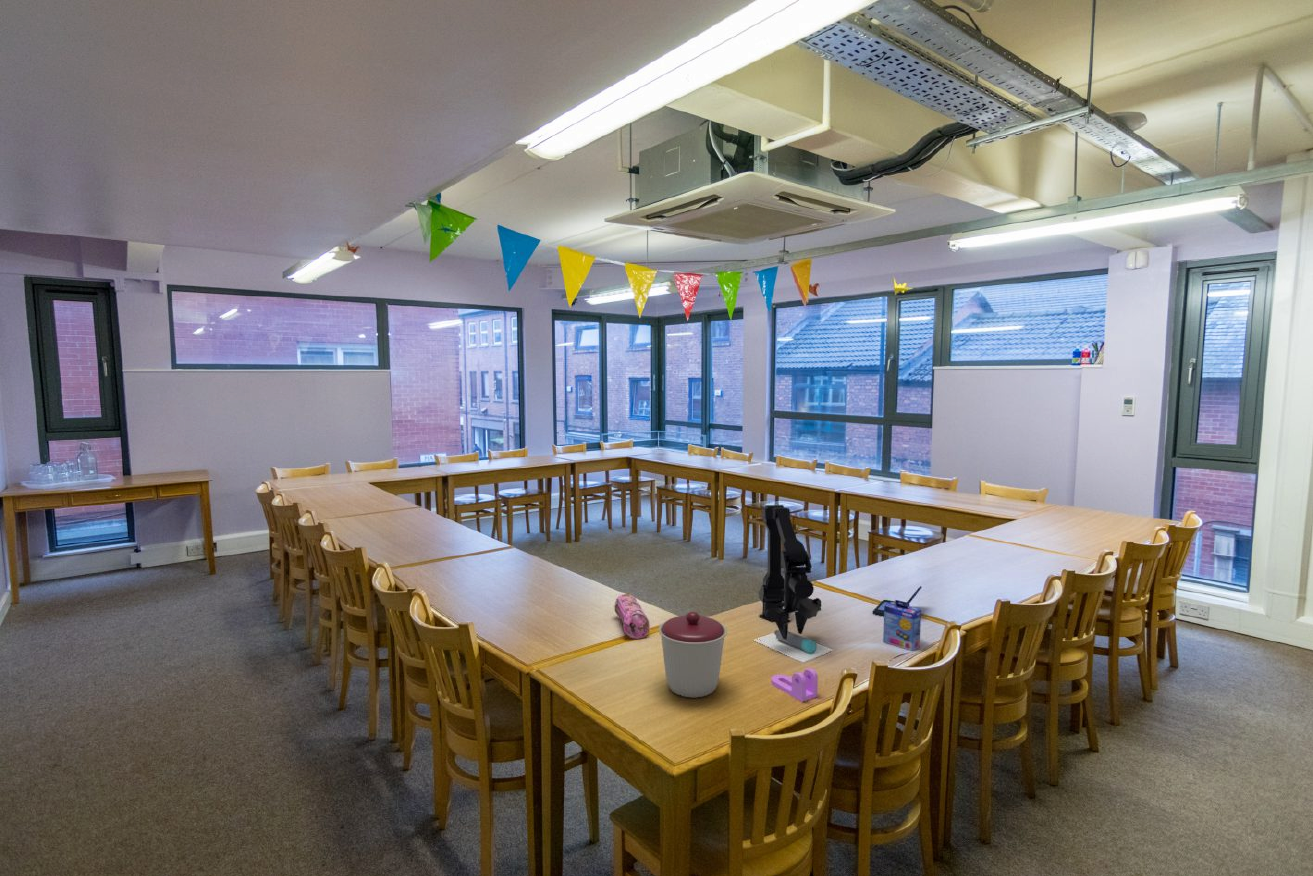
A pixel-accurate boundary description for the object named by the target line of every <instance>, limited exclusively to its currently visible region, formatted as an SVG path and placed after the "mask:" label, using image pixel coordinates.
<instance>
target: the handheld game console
mask: <svg viewBox="0 0 1313 876" xmlns="http://www.w3.org/2000/svg"><path fill="white" fill-rule="evenodd" d="M921 590H922V585H920V586H919V587H917V590H915V592H913V594H912V595H911V597H910V598H909V599H908V600H907V601H905V602H906V603H907V606H910V603H912V601H913V599H914V598H915V597H916V596H917V595H918V593H919V592H920V591H921ZM890 602H895V601H894V600H890V599H883V600H881V602H880V603H878V605H877V606H876V607H875V608H874V609H873V610H872V615H874V614H875V615H874V616H877V615H879V616H878V617H882V616H883V618H884V605H886V604H888V603H890ZM898 603H900V602H898ZM900 604H903V603H900ZM903 605H905V604H903Z"/></svg>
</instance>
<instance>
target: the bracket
mask: <svg viewBox="0 0 1313 876" xmlns="http://www.w3.org/2000/svg"><path fill="white" fill-rule="evenodd" d="M791 676H792V677H791ZM791 676H788V675H785V674H776V675H773V676H772V677H771V685H772V686H773V687H774V688H776V689H778V688H779V689H781V690H782V691H781V690H780V691H781V692H783V691H784V692H783V693H785V692H786V693H787V695H788V694H789V695H788V696H790V697H791V696H792V698H793V697H794V698H793V699H795V700H797V701H798V700H800V701H801V702H800V701H799V702H800V703H804V702H803V701H805V702H807V701H806V700H808V701H810V700H813V699H816V698H818V686H819V685H818V684H819V683H818V682H819V679H818V677H819V676H818V673H817V671H816V670H815V669H813V668H807V669H805V670H804V671H803V673H802V672H799V671H798V672H795V673H793V674H792V675H791ZM783 682H784V683H783ZM785 683H786V684H785ZM779 689H778V690H779ZM786 693H785V694H786ZM815 697H816V698H815ZM812 698H813V699H812Z"/></svg>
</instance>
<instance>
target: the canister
mask: <svg viewBox="0 0 1313 876" xmlns="http://www.w3.org/2000/svg"><path fill="white" fill-rule="evenodd" d="M658 633H659V635H660V636H661V644H662V653H663V656H662V657H663V666H664V672H665V680H666V683H667V686H668V688H669V689H670V690H671V691H672V692H673V693H674V694H676V695H679V696H680V695H681V696H680V697H685V698H689V697H690V698H698V697H699V698H703V697H706V696H708V695H711V694H712V693H713V692H714V691H715V690H716V689H717V686H718V683H719V679H720V673H721V668H722V667H721V665H722V657H723V651H724V642H725V641H724V640H725V637H726V636H727V635H728V634H727V633H728V629H727V627H726V626H725V625H724V624H723V623H722V622H720V621H718V620H716V619H714V618H711V617H709V616H705V615H699V613H698V612H696V611H689V612H687V613H686V615H684V614H683V615H677V616H674V617H672V618H669V619H667V620H665V621H664V622H662V623H661V624H660V625H659V627H658Z"/></svg>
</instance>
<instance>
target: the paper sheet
mask: <svg viewBox="0 0 1313 876" xmlns="http://www.w3.org/2000/svg"><path fill="white" fill-rule="evenodd" d="M757 639H758V640H757ZM759 639H760V640H761V641H760V640H759ZM753 640H754V641H756V642H755V643H757V642H758V643H757V644H759V643H761V644H763V645H765V646H764V647H766V646H767V647H766V648H768V647H769V648H768V649H770V648H771V649H770V650H772V649H773V651H774V652H777V651H779V652H781V653H783V654H782V655H784V654H785V655H784V656H786V655H787V657H788V656H789V657H788V658H791V659H793V660H795V661H798V662H800V663H803V664H804V663H807V662H809V661H812V660H815V659H816V657H817V658H820V657H821V655H822V656H824V655H826V653H827V654H828V652H829V653H831V652H833V651H834V650H833V649H832V648H829V647H828V646H824V645H822V644H819V643H817V642H816V644H817V648H816V651H815V652H814V653H813V654H811V653H809V652H806V651H804V650H801V649H799V648H797V647H794V646H792V645H790V644H787V643H785V642H782V641H780V640H778V639H777V638H776V635H775V634H774V632H772V633H769V634H767V635H764V636H761V637H758V638H755V639H753ZM754 641H753V642H754ZM761 644H760V645H761ZM763 645H762V646H763ZM830 651H831V652H830ZM779 652H778V653H779ZM781 653H780V654H781Z"/></svg>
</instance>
